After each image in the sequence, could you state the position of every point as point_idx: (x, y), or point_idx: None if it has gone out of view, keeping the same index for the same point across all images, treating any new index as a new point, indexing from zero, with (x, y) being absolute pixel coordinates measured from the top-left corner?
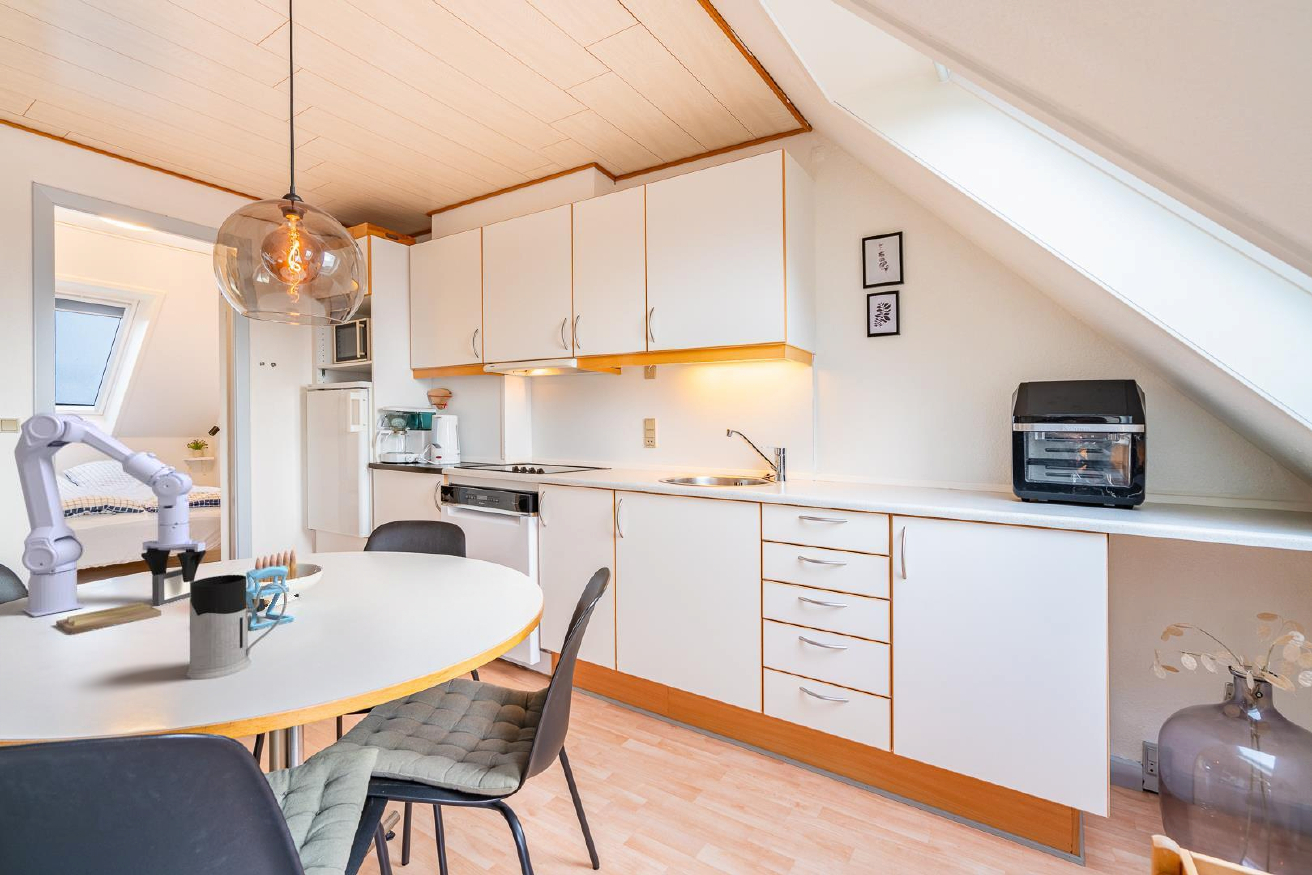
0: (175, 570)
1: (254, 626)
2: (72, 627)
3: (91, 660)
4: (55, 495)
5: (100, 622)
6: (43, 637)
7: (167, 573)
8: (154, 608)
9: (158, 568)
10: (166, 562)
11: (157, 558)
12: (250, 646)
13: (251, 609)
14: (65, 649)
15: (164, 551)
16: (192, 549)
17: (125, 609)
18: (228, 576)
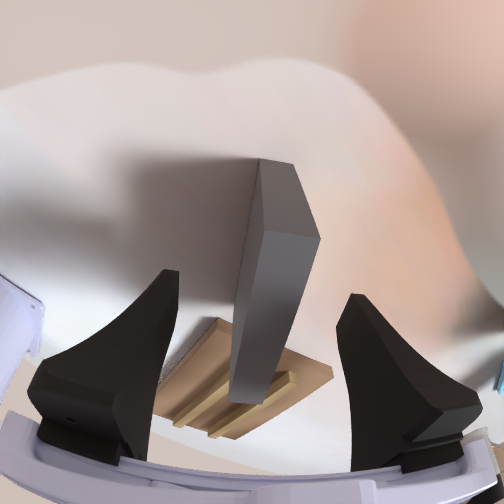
0: (249, 320)
1: (502, 392)
2: (223, 435)
3: (348, 461)
4: None
5: (251, 423)
6: (197, 434)
7: (259, 371)
8: (300, 365)
9: (158, 351)
10: (147, 333)
11: (143, 411)
12: (491, 444)
13: (501, 471)
14: (287, 455)
15: (126, 424)
16: (422, 475)
17: (257, 405)
18: (494, 501)
